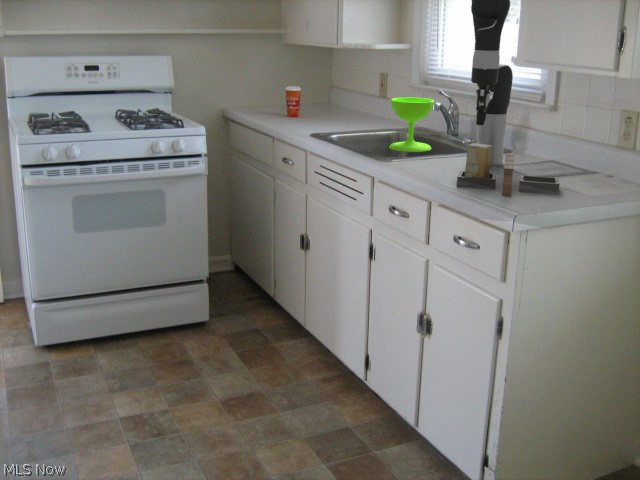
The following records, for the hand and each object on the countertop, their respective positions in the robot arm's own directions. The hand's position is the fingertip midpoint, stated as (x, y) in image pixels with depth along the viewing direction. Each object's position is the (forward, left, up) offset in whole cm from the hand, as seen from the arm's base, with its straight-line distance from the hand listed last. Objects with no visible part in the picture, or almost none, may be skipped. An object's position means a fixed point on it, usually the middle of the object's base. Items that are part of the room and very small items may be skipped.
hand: (480, 123), depth 217 cm
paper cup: (-120, -94, -19) cm, 154 cm away
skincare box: (0, 0, -19) cm, 19 cm away
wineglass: (-55, -28, -19) cm, 64 cm away
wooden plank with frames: (0, +9, -19) cm, 21 cm away
